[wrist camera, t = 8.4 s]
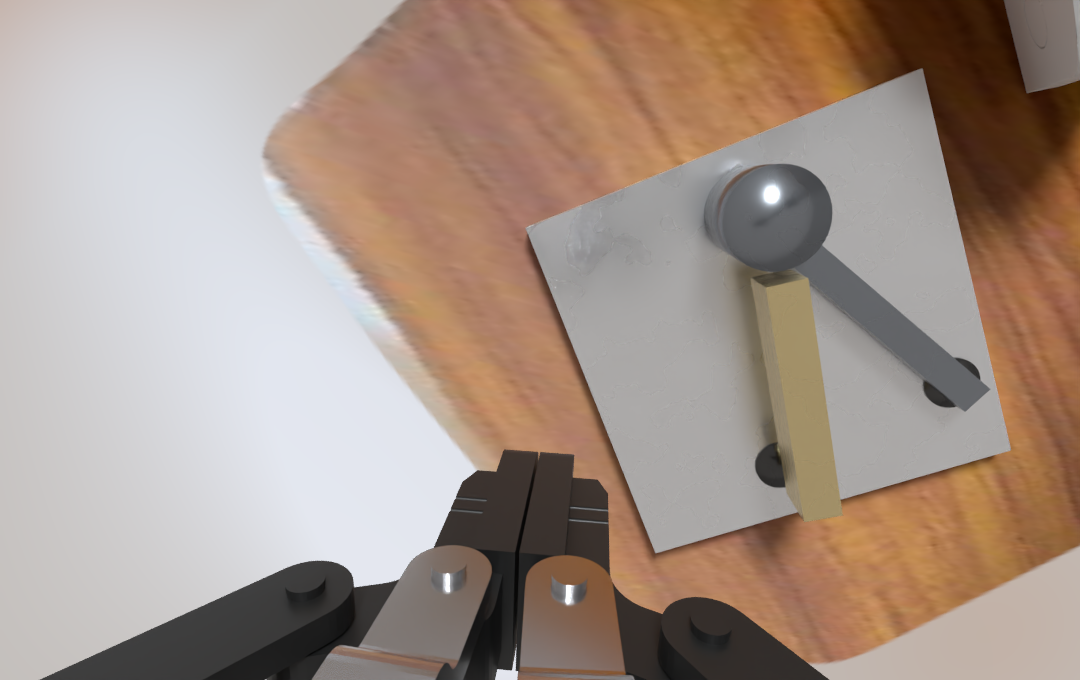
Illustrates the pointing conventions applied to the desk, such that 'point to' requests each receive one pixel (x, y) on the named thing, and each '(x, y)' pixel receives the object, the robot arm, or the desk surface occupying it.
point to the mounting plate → (731, 322)
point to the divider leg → (797, 392)
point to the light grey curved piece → (1046, 41)
